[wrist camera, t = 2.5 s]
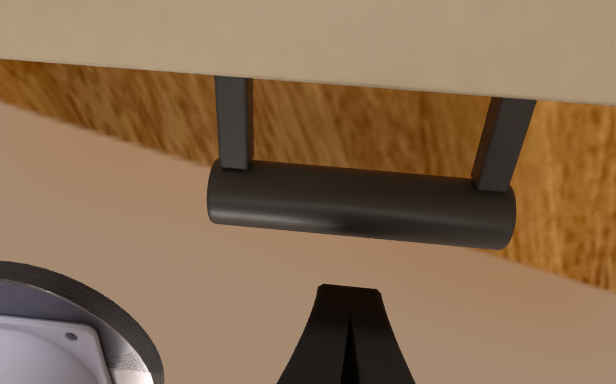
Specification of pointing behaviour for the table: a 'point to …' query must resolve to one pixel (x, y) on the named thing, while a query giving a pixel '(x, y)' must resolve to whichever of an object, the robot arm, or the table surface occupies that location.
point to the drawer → (352, 72)
